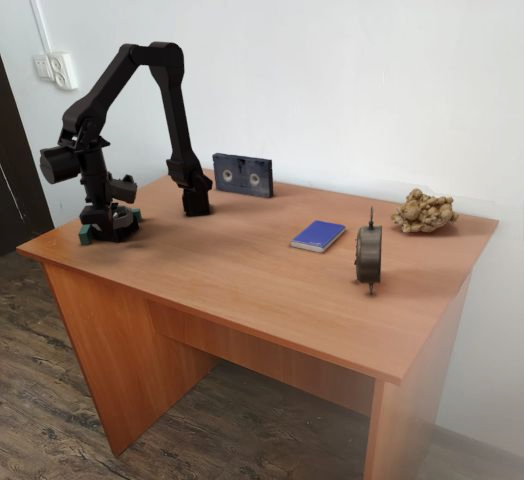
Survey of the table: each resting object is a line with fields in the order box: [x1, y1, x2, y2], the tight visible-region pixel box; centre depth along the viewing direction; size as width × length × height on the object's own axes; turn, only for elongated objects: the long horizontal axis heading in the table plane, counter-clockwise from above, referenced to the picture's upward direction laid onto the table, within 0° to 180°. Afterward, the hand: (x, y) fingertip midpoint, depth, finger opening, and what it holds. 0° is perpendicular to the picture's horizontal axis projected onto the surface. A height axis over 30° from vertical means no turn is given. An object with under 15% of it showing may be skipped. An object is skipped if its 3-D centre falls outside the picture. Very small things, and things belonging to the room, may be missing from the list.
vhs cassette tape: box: [211, 152, 274, 199], centre depth 141 cm, size 18×3×10 cm, turn 59°
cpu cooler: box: [90, 204, 140, 243], centre depth 125 cm, size 10×6×10 cm
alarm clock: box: [353, 205, 383, 296], centre depth 96 cm, size 11×5×16 cm, turn 168°
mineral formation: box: [388, 187, 460, 234], centre depth 117 cm, size 8×13×15 cm
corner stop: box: [77, 208, 143, 246], centre depth 127 cm, size 14×13×3 cm
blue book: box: [290, 220, 346, 253], centre depth 117 cm, size 2×8×12 cm
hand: (110, 237), depth 119 cm, fingers closed
